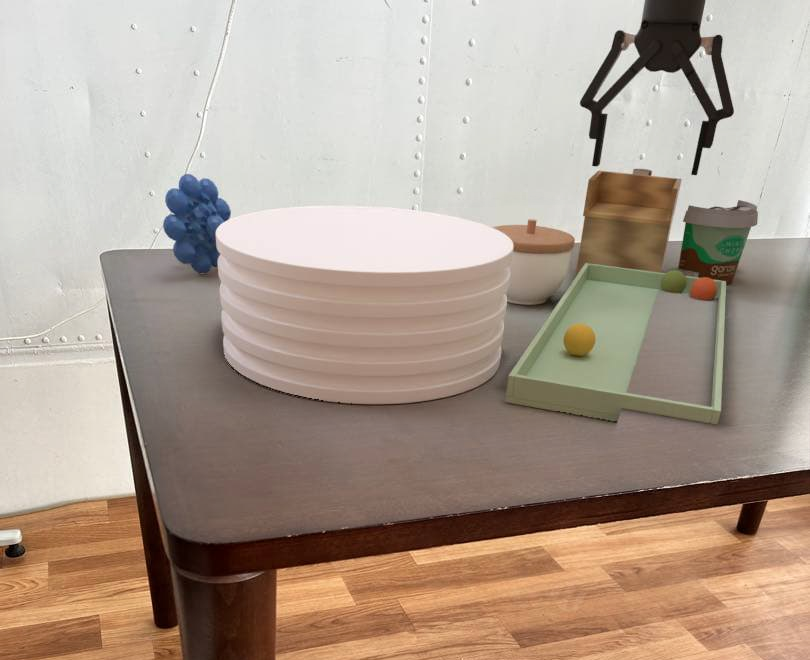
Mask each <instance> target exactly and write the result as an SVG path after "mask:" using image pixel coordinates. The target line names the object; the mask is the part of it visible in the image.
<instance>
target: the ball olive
mask: <svg viewBox="0 0 810 660" xmlns="http://www.w3.org/2000/svg"><path fill="white" fill-rule="evenodd" d="M686 284H687V279H686V277H685V275H684V274H683V273H682V272H681V271H678V269H673V270H669V271H667V272H666V274H665V275H664V276H663V277H662V279H661V289H662V290H661V291H664V292H667V293H675V294H676V293H677V294H678V293H679V294H683V293H682V292H683V291H684V289H685V288H686Z"/></svg>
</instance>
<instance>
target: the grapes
mask: <svg viewBox="0 0 810 660" xmlns="http://www.w3.org/2000/svg"><path fill="white" fill-rule="evenodd" d="M164 198H165V200H164V202H165V206H166V207H167V208H168V211H169V212H170V214H168V215H167V216H165V218H164V220H163V221H162V222H163V223H162V228H163V231H164V233H165V235H166V236H167V237H168V238H169V239H171V240H172V241H175V242H174V243H173V247H172V252H173V255H174V257H175V258H176V260H177V261H178V262H180V263H182V264H183V265H190V267H191V268H192V269H193V271H194V272H196V273H198V274H199V273H205V274H207V273H208V272H210V271H211V269H212V267H213V268H218V258H219V256H220V253H219V252H218V250H217V247H216V230H217V228H218V227H219V226H220V225H221V224H222V223H224V222H225V221H227V220H229V219H231V216H232V215H231V214H232V210H231V208H230V205H229V204H228V203H227V201H226V200H224V199H223V198H221V197H219V190H218V186H217V185H216V183H214V181H213V180H211V179H209V178H204V177H203V178H201V179H198V178H197V177H196V176H194V175H193V174H192V173H191V174H190V173H185V174H183V175H181V177H180V178H179V181H178V188H170V189H169V190H167V192H166V194H165V197H164ZM171 213H172V214H171Z"/></svg>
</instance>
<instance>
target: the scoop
mask: <svg viewBox="0 0 810 660" xmlns="http://www.w3.org/2000/svg"><path fill="white" fill-rule="evenodd" d="M652 173H653V171H652V170H651V169H646V168H633V169H632V173H629V172H628V173H627V172H616V171H609V170H608V171H607V170H598V171H596V172H595V173H594V174H593V175H592V176H591V177H590V178H589V179H588V181H587V188H586V195H585V201H584V206H583V213H582V217H585V216H587V217H595V218H604V219H612V220H621V221H630V222H638V223H647V224H656V225H664V226H670V224H671V221H672V219H673V220H674V215H675V212H676V207H677V204H678V203H677V202H678V197H679V195H680V194H679V193H680V190H681V189H680V188H681V184H682V178H676V177H675V178H674V177H666V176H657V175H653V174H652ZM672 222H673V221H672Z"/></svg>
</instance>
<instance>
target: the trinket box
mask: <svg viewBox="0 0 810 660" xmlns="http://www.w3.org/2000/svg"><path fill="white" fill-rule="evenodd" d="M537 222H538V221H537V219H534V218H532V219H531V218H528V219H527V224H502V225H497V226H496V225H495V226H493V227H492V228H494V229H496V230H498V231H500V232H502V233H504V234H505V235H507V236H508V237H509V238H510V239H511V240H512V242H513V245H514V248H513V257H512V261H511V263H510V265H509V266H508V268H509V270H510V282H509V288H508V291H507V292H506V296H507V303H511V304H515V305H521V306H522V305H524V306H535V305H542V304H545V303H546V302H547V301H548V298H550V297H551V296H553V295H554V294H555V293H556V292H557V291H558V290H559V288H561V286H562V285H563V282H564V281H565V279H566V277H567V274H568V272H569V268H570V264H571V260H572V255H573V254H572V253H573V249H574V246H575V240H576V239H575V237H574V236H573V235H572V234H570V233H569V232H566V231H563V230H561V229H558V228H557V229H556V228H552V227H546V226H540V225H537Z"/></svg>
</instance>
